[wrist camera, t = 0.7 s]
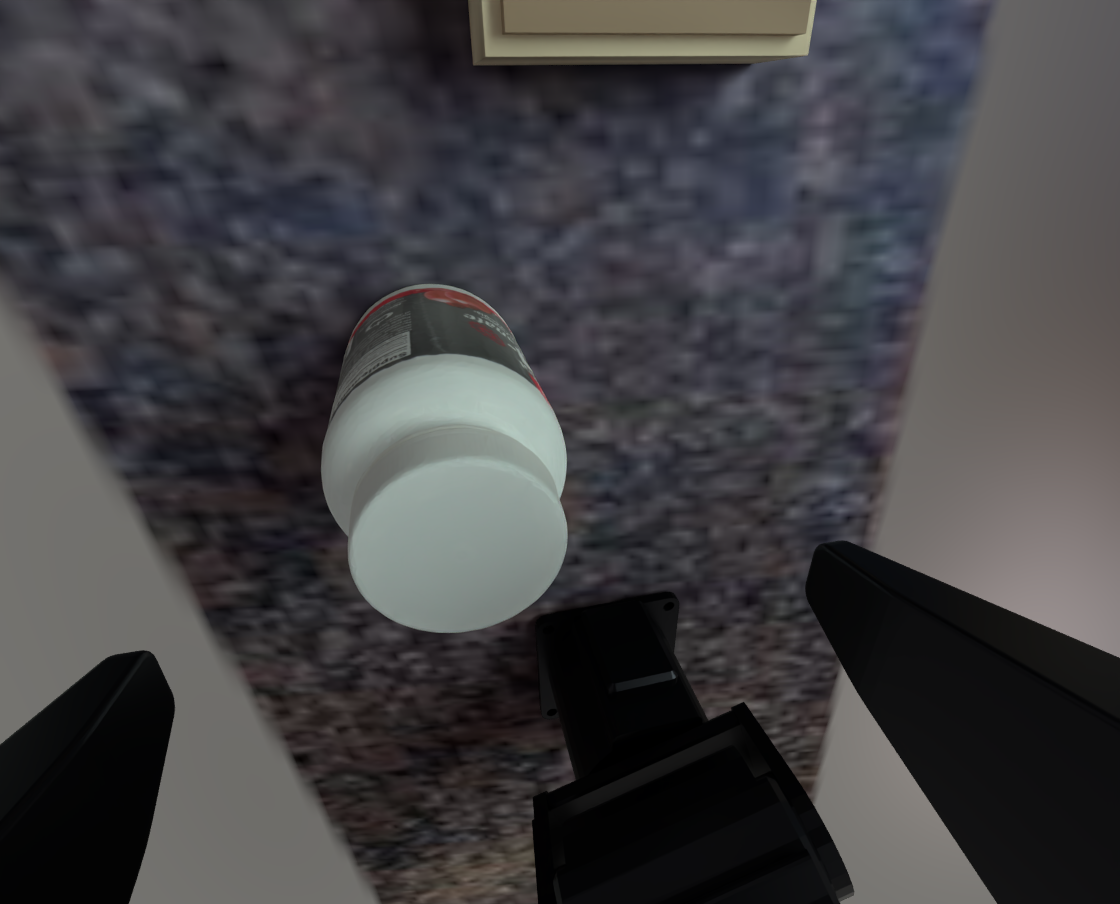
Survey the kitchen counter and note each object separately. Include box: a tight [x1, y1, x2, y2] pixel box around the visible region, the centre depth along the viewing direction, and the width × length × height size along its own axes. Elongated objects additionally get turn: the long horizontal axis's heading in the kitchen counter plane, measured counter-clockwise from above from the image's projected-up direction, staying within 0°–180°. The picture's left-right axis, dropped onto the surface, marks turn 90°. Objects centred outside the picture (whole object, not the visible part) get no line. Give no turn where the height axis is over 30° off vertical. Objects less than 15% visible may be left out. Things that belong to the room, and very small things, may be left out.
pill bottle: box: [321, 284, 568, 633], centre depth 15 cm, size 5×5×10 cm
